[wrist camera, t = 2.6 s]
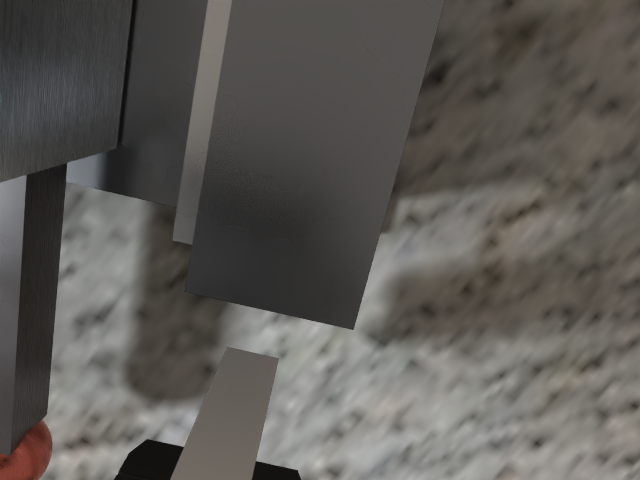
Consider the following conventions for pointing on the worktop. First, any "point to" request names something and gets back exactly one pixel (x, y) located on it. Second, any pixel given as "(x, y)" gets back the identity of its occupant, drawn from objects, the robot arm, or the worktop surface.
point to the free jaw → (45, 187)
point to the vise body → (270, 139)
